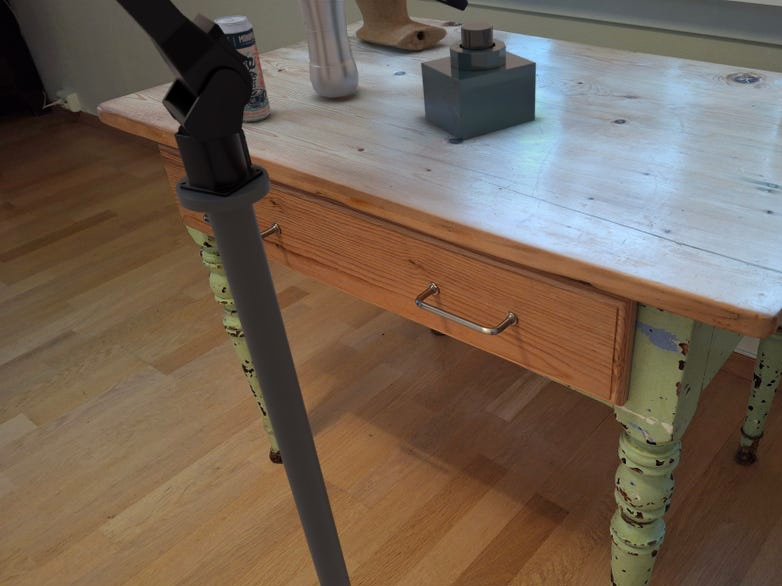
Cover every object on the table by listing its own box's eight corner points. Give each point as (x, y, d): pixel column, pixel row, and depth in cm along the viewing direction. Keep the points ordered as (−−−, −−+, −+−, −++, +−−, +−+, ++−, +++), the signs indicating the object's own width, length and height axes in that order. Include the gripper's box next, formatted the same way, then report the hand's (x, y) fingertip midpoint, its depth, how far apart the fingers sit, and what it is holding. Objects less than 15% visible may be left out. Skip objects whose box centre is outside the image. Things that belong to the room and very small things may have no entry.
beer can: (245, 126, 91) (220, 26, 83) (228, 117, 93) (203, 19, 86) (278, 116, 93) (257, 18, 85) (261, 107, 96) (239, 12, 88)
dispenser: (461, 140, 85) (458, 62, 79) (425, 119, 91) (419, 45, 85) (535, 119, 89) (536, 45, 83) (495, 100, 95) (494, 29, 89)
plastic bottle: (357, 102, 96) (333, -67, 84) (308, 103, 97) (277, -65, 84) (364, 87, 101) (342, -74, 89) (317, 88, 102) (289, -72, 89)
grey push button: (472, 55, 82) (471, 31, 81) (455, 48, 85) (454, 25, 83) (499, 49, 84) (499, 26, 82) (482, 42, 86) (481, 20, 85)
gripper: (459, -172, 62) (555, -46, 73) (367, -173, 74) (461, -66, 86) (390, -58, 64) (494, 48, 75) (311, -78, 76) (411, 15, 87)
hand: (464, 6), depth 81 cm, fingers closed
